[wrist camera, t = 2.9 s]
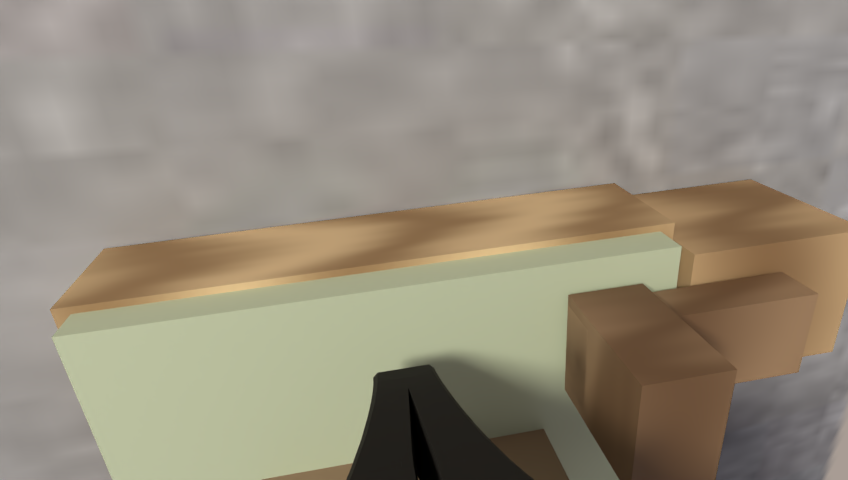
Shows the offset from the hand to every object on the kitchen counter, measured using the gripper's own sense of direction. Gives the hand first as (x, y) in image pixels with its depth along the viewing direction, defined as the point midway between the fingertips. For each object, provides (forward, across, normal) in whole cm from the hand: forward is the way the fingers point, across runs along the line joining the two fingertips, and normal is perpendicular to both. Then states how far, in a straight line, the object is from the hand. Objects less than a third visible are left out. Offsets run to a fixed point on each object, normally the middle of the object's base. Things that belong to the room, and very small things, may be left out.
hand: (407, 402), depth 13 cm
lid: (+2, 0, +4) cm, 4 cm away
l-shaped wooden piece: (+1, -7, 0) cm, 7 cm away
